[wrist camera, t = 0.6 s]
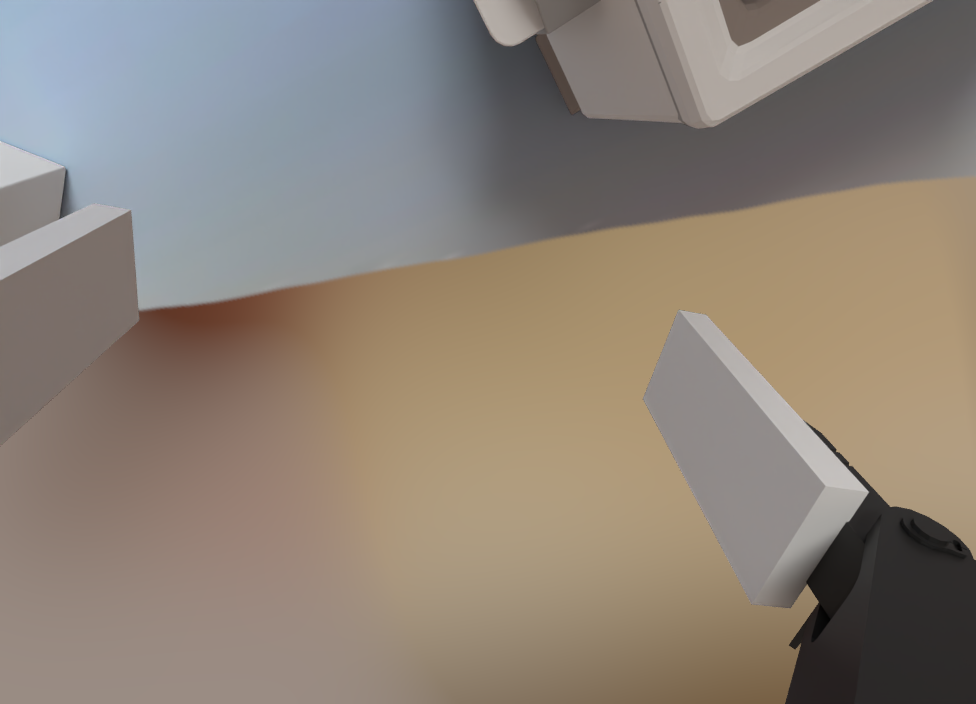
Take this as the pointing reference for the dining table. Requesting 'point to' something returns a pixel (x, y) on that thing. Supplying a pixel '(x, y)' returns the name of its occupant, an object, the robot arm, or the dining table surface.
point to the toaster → (684, 49)
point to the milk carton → (27, 192)
